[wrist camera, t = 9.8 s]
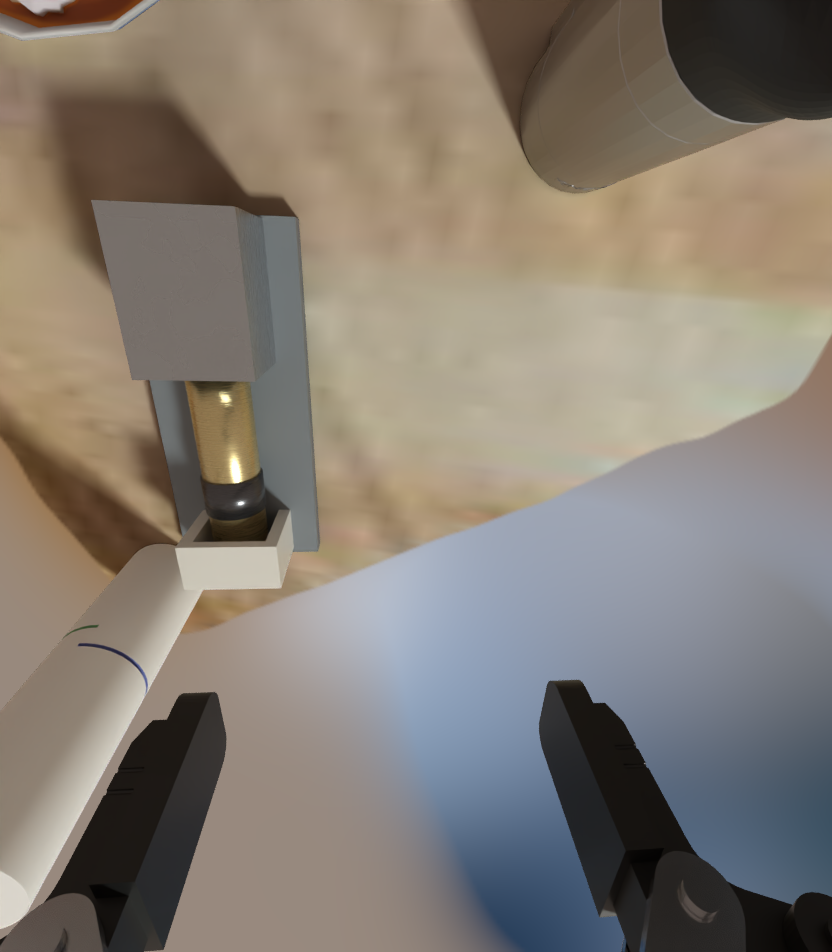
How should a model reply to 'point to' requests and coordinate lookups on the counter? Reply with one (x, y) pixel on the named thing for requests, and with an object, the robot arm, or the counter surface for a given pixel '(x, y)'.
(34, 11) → the ramen bowl
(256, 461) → the tube
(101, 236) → the sleeve
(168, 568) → the cylindrical container
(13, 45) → the counter surface
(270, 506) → the board
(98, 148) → the counter surface
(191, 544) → the socket
